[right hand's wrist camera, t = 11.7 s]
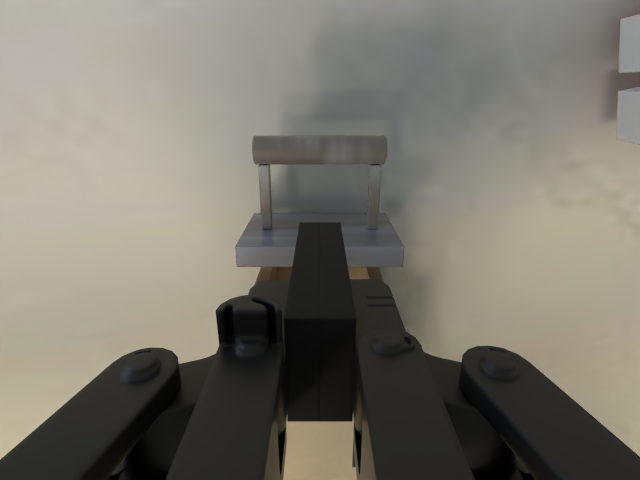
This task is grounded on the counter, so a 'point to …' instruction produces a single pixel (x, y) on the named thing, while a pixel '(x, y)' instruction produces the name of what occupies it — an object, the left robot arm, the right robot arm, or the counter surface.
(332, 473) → the cabinet
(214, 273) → the counter surface
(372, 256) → the drawer
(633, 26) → the toy
